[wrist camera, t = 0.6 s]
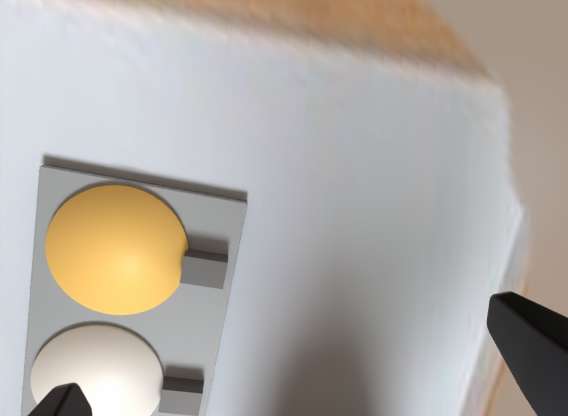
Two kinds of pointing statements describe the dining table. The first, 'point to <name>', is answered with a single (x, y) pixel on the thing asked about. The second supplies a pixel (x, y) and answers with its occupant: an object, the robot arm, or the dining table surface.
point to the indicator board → (128, 292)
